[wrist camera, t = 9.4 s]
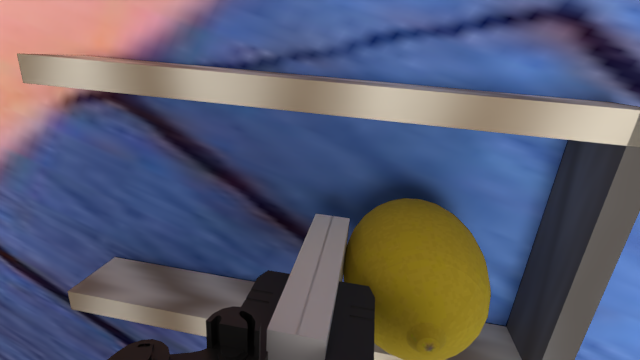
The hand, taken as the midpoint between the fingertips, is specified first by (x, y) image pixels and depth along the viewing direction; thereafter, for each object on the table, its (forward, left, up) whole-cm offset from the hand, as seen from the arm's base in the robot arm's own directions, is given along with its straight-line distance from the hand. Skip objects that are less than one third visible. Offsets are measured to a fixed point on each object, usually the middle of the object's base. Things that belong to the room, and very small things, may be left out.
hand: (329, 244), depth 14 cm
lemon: (+3, 0, -4) cm, 5 cm away
